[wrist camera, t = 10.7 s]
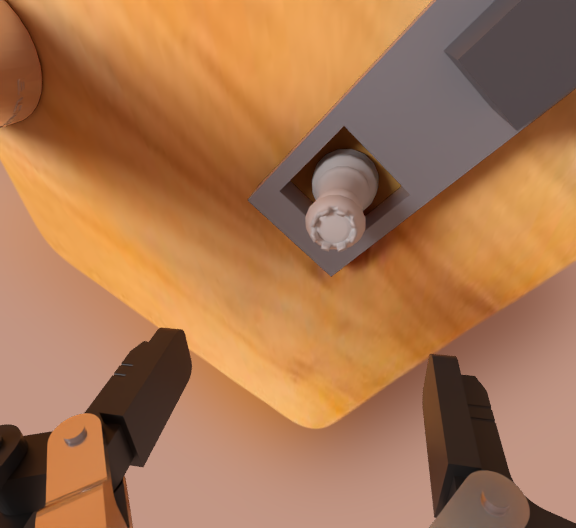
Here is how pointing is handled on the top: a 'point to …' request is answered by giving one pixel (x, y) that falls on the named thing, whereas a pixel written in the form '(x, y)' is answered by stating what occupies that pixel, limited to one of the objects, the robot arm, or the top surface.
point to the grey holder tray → (435, 108)
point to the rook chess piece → (341, 198)
